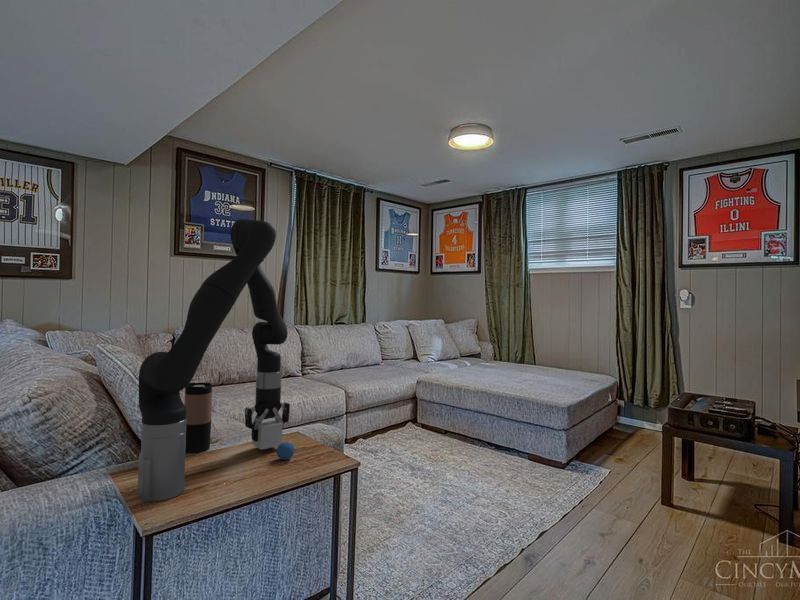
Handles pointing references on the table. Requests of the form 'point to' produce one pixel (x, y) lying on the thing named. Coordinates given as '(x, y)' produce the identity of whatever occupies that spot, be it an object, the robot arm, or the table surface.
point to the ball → (285, 451)
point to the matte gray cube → (269, 434)
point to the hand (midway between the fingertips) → (267, 438)
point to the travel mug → (198, 417)
